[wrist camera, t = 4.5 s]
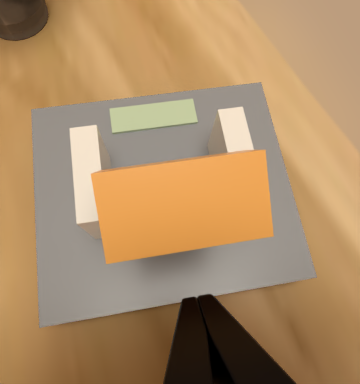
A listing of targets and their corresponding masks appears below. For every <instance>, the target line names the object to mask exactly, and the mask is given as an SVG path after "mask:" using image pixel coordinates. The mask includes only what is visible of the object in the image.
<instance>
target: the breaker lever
mask: <svg viewBox="0 0 360 384" xmlns="http://www.w3.org/2000/svg"><path fill="white" fill-rule="evenodd" d="M91 179H92V185H93V191H94V197H95V202H96V208H97V214H98V220H99V226H100V231H101V237H102V243H103V249H104V255H105V260H106V264H111V263H117V262H123V261H129V260H135V259H141V258H147V257H153V256H159V255H165V254H171V253H177V252H183V251H189V250H195V249H201V248H207V247H213V246H219V245H225V244H231V243H237V242H243V241H249V240H255V239H261V238H267V237H273V236H274V234H273V223H272V213H271V202H270V192H269V181H268V171H267V160H266V150H243V151H235V152H228V153H221V154H214V155H206V156H199V157H192V158H185V159H177V160H170V161H163V162H156V163H149V164H141V165H134V166H127V167H120V168H112V169H105V170H99V171H96V172H94V173H91Z"/></svg>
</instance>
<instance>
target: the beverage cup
mask: <svg viewBox="0 0 360 384" xmlns="http://www.w3.org/2000/svg"><path fill="white" fill-rule="evenodd" d="M47 19H48V10H47V6H46V4H45V0H0V38H3V39H6V40H21V39H26V38H29V37H31V36H33V35H35V34H37V33H38V32H39V31H40V30H42V28H43V27H44V25H45V24H46V23H47Z"/></svg>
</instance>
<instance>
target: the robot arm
mask: <svg viewBox="0 0 360 384" xmlns="http://www.w3.org/2000/svg"><path fill="white" fill-rule="evenodd" d="M163 384H296V383H295V381H294V380H293V379H292V378H291V377H290V376H289V375H288V374H287V373H286V372H285V371H284V370H283V369H282V368H281V367H280V366H279V365H278V364H277V362H276V361H275V360H274V359H273V358H272V357H271V356H270V355H269V354H268V353H267V352H266V351H265V350H264V349H263V348H262V347H261V346H260V344H259V343H258V342H257V341H256V340H255V339H254V338H253V337H252V336H251V335H250V334H249V333H248V332H247V331H246V330H245V329H244V328H243V327H242V325H241V324H240V323H239V322H238V321H237V320H236V319H235V318H234V317H233V316H232V315H231V314H230V313H229V312H228V311H227V310H226V309H225V307H224V306H223V305H222V304H221V303H220V302H219V301H218V300H217V299H216V298H215V297H214V296H213V295H212V294H205V295H199V296H198V297H197V298H196V297H195V296H193V297H188V298H183V299H182V301H181V305H180V310H179V314H178V319H177V323H176V328H175V332H174V336H173V341H172V345H171V350H170V354H169V359H168V363H167V368H166V372H165V377H164V381H163Z"/></svg>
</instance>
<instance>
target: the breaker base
mask: <svg viewBox="0 0 360 384" xmlns="http://www.w3.org/2000/svg"><path fill="white" fill-rule="evenodd" d="M31 112H32V140H33V168H34V195H35V223H36V251H37V278H38V306H39V328H42V327H47V326H53V325H58V324H64V323H69V322H75V321H80V320H86V319H91V318H97V317H102V316H108V315H113V314H119V313H124V312H130V311H135V310H141V309H146V308H152V307H157V306H163V305H168V304H174V303H179V302H181V301H182V299H183V298H188V297H193V296H195V297H196V298H197V297H198V296H199V295H205V294H212V295H213V296H218V295H223V294H229V293H234V292H240V291H245V290H251V289H256V288H262V287H267V286H273V285H278V284H284V283H289V282H295V281H300V280H306V279H311V278H317V276H316V272H315V269H314V265H313V262H312V258H311V255H310V251H309V248H308V244H307V241H306V237H305V234H304V230H303V227H302V223H301V220H300V216H299V213H298V209H297V206H296V203H295V199H294V196H293V192H292V189H291V185H290V182H289V178H288V175H287V171H286V168H285V164H284V161H283V157H282V154H281V150H280V147H279V143H278V140H277V137H276V133H275V130H274V126H273V123H272V119H271V116H270V112H269V109H268V105H267V102H266V98H265V95H264V91H263V88H262V84H261V82H260V83H252V84H243V85H235V86H226V87H218V88H209V89H201V90H192V91H184V92H175V93H167V94H158V95H150V96H141V97H133V98H124V99H116V100H107V101H99V102H90V103H82V104H73V105H65V106H56V107H48V108H39V109H31ZM243 150H266V160H267V171H268V181H269V192H270V202H271V213H272V223H273V234H274V236H273V237H267V238H261V239H255V240H249V241H243V242H237V243H231V244H225V245H219V246H213V247H207V248H201V249H195V250H189V251H183V252H177V253H171V254H165V255H159V256H153V257H147V258H141V259H135V260H129V261H123V262H117V263H111V264H106V260H105V255H104V249H103V243H102V237H101V231H100V226H99V220H98V214H97V208H96V202H95V197H94V191H93V185H92V179H91V173H94V172H96V171H99V170H105V169H112V168H120V167H127V166H134V165H141V164H149V163H156V162H163V161H170V160H177V159H185V158H192V157H199V156H206V155H214V154H221V153H228V152H235V151H243Z"/></svg>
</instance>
